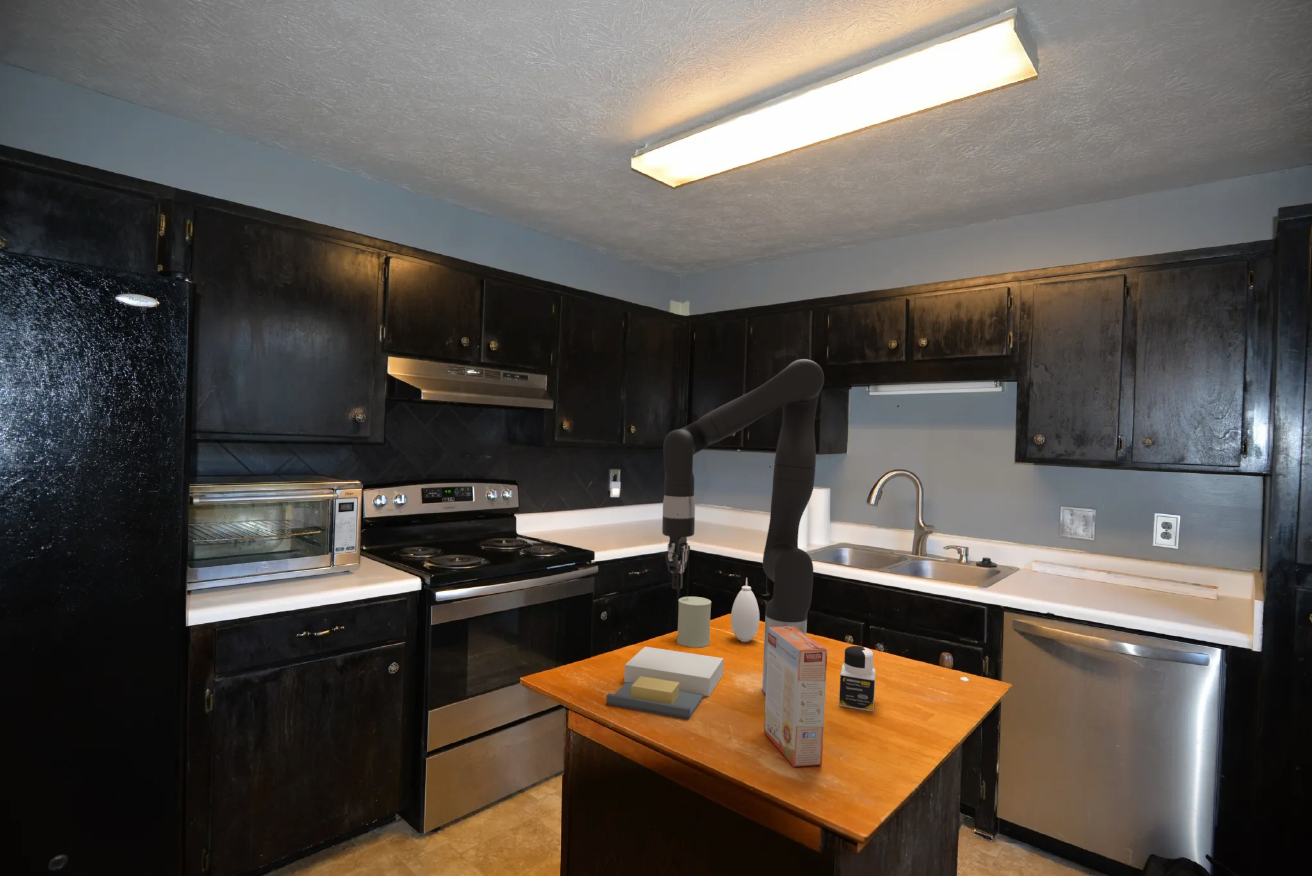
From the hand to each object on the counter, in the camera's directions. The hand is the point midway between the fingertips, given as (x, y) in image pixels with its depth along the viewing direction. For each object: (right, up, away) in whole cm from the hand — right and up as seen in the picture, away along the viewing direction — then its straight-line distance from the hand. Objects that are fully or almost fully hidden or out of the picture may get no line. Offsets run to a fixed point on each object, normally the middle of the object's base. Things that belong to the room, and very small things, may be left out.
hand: (677, 588), depth 152 cm
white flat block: (-1, -21, +1) cm, 21 cm away
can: (+5, -22, +28) cm, 36 cm away
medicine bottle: (+39, -23, -9) cm, 47 cm away
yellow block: (-5, -19, -12) cm, 23 cm away
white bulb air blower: (+20, -22, +31) cm, 43 cm away
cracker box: (+20, -23, -31) cm, 44 cm away
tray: (-5, -21, -12) cm, 25 cm away
